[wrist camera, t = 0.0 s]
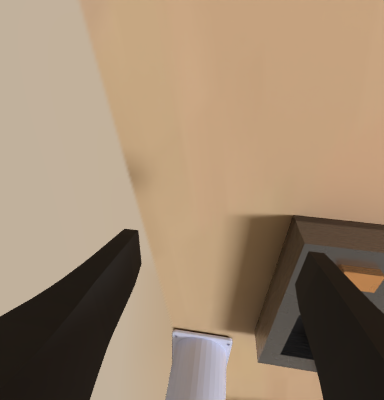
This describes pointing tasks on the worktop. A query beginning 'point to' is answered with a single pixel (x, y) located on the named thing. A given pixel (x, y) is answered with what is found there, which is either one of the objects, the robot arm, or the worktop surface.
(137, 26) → the worktop surface
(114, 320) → the robot arm
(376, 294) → the grey slotted block
